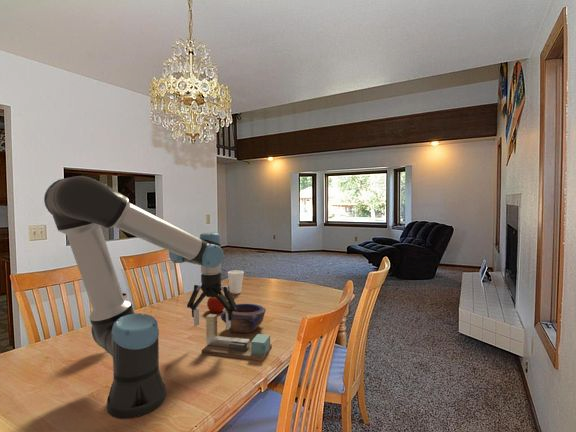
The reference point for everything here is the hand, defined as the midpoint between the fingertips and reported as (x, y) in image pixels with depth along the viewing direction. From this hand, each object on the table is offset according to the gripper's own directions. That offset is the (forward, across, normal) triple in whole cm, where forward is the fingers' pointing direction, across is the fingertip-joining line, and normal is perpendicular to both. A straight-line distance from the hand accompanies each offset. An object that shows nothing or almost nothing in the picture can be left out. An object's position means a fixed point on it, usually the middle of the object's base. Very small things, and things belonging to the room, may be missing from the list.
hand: (212, 326), depth 125 cm
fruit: (+8, +18, -38) cm, 42 cm away
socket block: (+7, -20, 0) cm, 21 cm away
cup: (+9, +22, -72) cm, 75 cm away
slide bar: (+7, -7, 0) cm, 9 cm away
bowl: (+8, -5, -20) cm, 22 cm away
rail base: (+8, -10, 0) cm, 13 cm away
